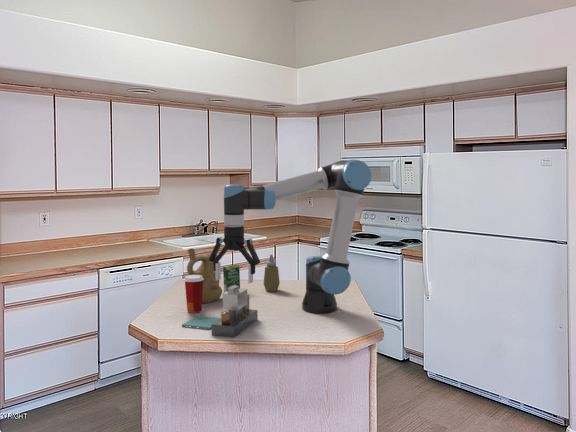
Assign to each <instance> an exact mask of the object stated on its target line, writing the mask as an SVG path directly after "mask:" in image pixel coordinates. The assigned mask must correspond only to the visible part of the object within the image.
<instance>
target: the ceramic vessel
mask: <svg viewBox="0 0 576 432" xmlns="http://www.w3.org/2000/svg"><path fill="white" fill-rule="evenodd" d="M187 253H188V257H189V260H188V263H187V266H186V270H187V274H188V275H202V277H203V279H204V280H203V292H202V304H207V303H213V302H215V301H217V300H218V299H220V298H221V296H222V295H223V289H222V287H221V286H220V280H216V271H214V263H213V262H212V261H209V258H210V256H211V253H212V252H208V253H206V254H205V255H198V256H196V251H195V249H194V248H190V249H188V250H187ZM217 255H218V254H217ZM217 255H216V257H217ZM216 257H215V258H216ZM197 262H201V264H200V265H199V266H198V267H197V268H196V269H195V270H194V268H193V267H194V265H195V264H196V263H197Z"/></svg>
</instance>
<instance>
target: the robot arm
mask: <svg viewBox="0 0 576 432" xmlns="http://www.w3.org/2000/svg"><path fill="white" fill-rule="evenodd" d="M371 180H372V171H371V168H370V167H369V166H368V164H367V163H366V162H365V161H362V160H360V159H348V160H345V159H344V160H339V161H336V162H333V163H331V164H328V165H325V166H322V167H319V168H318V169H317V170H316V171H312V172H308V173H304V174H300V175H297V176H293V177H289V178H286V179H282V180H277V181H274V182H271V183H267V184H263V185H260V186H256V187H249V188H246V189H245V186H244V185H243V184H226V185H225V186H224V188H223V225H224V227H223V236H224V237H223V238H222V237H221V236H220V237H216V238H215V239H216V241H215V245H214V247H213V249H212V252H210V253H211V256H210V258H209V261H212V262H213V263H214V271H215V273H216V280H219V281H220V280H221V277H222V274H221V273H222V272H221V271H222V270H221V269H222V268H221V262H220V261H221V259H222V258H223V257H224V256H225V254H226V253H227V252H228V251H237V252H238V251H239V253H241V254H242V256H243V257H244V259H245V260H246V262H247V263H248V264H249V265H248V267H247V269H248V272H247V273H248V277H247V279H248V280H247V281H248V282H247V283H248V284H251V283H254V275H255V274H256V265H259V264H260V263H261V261H260V260H261V259H259V256H258V254H257V251H256V249H255V247H254V245H253V239H252V238H248V239H245V226H244V225H245V210H246V211H248V210H264V211H265V210H266V211H267V210H273V209H275V207H276V205H277V204H276V203H277V201H280V200H284V199H287V198H292V197H294V196H295V197H296V196H298V195H302V194H303V195H304V194H306V193H309V192H313V191H317V190H321V189H323V190H330V189H334V192H335V194H336V200H335V203H334V204H335V205H334V211H333V215H332V222H331V224H330V230H329V234H328V235H329V236H328V240H327V245H326V251H325V253H324V254H323V255H314V256H313V255H312V256H308V257H306V259H305V261H306V262H305V293H304V295H303V296H304V297H303V300H302V302H301V303H302V304H301V308H302V310H303V311H305V312H308V313H313V314H328V313H333V312H335V311H337V310H338V303H337V300H336V296H335V295H340V294H342V293H344V292H346V291H347V289H348V288H349V286H350V285H351V281H352V278H351V277H352V276H351V273H350V271H349V267H350V261H349V259H348V253H349V248H350V242H351V238H352V233H353V227H354V224H355V217H356V212H357V207H358V202H359V199H361V198H362V197H363V196H364V193H365V189H366V188H367V187H368V186H369V185H370V183H371V182H372V181H371ZM223 243H224V246H223V247H222V244H223ZM244 244H245V245H246V246H247V249H248V251H247V249H246V247H245V246H244ZM221 247H222V249H221V251H220V252H219V250H220V248H221ZM218 252H219V253H218ZM216 255H217V257H216ZM215 257H216V258H215Z"/></svg>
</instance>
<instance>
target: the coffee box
mask: <svg viewBox="0 0 576 432" xmlns="http://www.w3.org/2000/svg"><path fill="white" fill-rule="evenodd" d="M222 272H223V273H222V274H223V293H225V292H227V291H228V288H229V287H231V286H233V285H236V286H239V288H240V289H241V276H240V274H241V273H240V265H239V264H233V265H232V264H231V265H226V266H225V265H224V266H223V267H222Z"/></svg>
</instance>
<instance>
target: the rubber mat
mask: <svg viewBox="0 0 576 432" xmlns="http://www.w3.org/2000/svg"><path fill="white" fill-rule="evenodd" d="M219 319H221V317H213V316H204V315H196V316H194V317H192V318H191V319H189V320H188V321H186V322H183V323H182V324H181V327H182V326H191V327H199V328H206V329H205V330H207V329H210V328H212V325H211V324H213V323H214V322H216V321H218V320H219ZM199 328H198V329H199ZM210 330H211V329H210Z"/></svg>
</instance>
